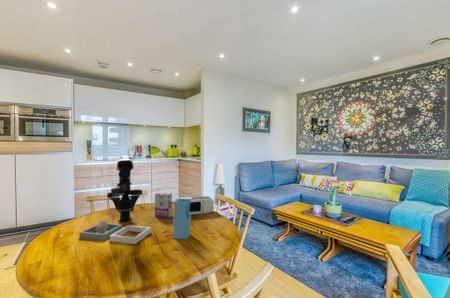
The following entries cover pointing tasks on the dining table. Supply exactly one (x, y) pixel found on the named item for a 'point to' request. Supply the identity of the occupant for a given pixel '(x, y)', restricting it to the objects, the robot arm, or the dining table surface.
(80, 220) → the dining table surface
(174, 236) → the vase
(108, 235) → the grey square frame
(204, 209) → the alarm clock
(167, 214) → the candy bar box
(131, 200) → the robot arm
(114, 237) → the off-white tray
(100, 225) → the grey rounded lumpy piece
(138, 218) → the dining table surface
